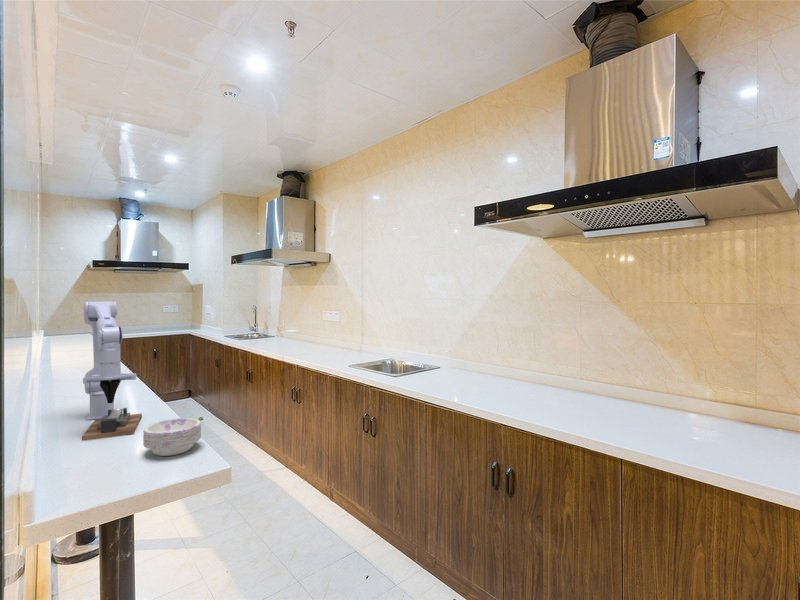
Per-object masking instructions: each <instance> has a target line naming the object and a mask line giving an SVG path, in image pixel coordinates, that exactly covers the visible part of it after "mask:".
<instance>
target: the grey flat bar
mask: <svg viewBox="0 0 800 600" xmlns="http://www.w3.org/2000/svg"><path fill="white" fill-rule="evenodd" d="M121 414H123V408H117V409H114V410H112V413H111V414H110V416H109V417H108V418H107V419H112V418H117V420H118V419H119V417H120V416H121Z"/></svg>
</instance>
